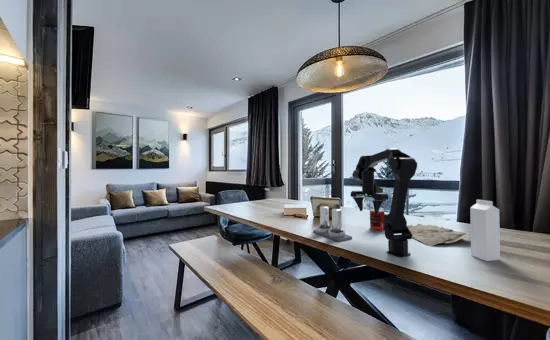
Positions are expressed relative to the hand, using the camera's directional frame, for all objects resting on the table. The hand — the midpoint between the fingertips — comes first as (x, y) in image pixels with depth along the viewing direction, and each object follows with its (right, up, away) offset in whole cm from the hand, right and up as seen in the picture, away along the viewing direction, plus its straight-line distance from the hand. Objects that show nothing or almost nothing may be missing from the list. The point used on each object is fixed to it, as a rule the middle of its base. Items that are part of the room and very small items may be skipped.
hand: (368, 212), depth 116 cm
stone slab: (+33, -13, +2) cm, 36 cm away
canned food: (+12, -13, +17) cm, 24 cm away
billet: (-15, -12, +3) cm, 19 cm away
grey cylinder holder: (-17, -13, +7) cm, 23 cm away
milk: (+34, -13, -27) cm, 45 cm away
